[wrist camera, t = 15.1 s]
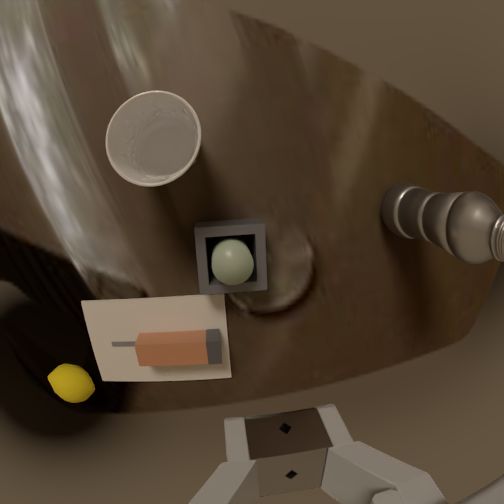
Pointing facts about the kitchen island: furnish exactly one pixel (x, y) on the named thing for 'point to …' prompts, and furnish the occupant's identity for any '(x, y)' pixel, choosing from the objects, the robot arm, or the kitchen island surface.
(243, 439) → the robot arm
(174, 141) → the white cup
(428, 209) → the plastic bottle
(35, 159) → the kitchen island surface
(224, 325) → the paper
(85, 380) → the lemon
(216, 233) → the button housing
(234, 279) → the button
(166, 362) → the block
